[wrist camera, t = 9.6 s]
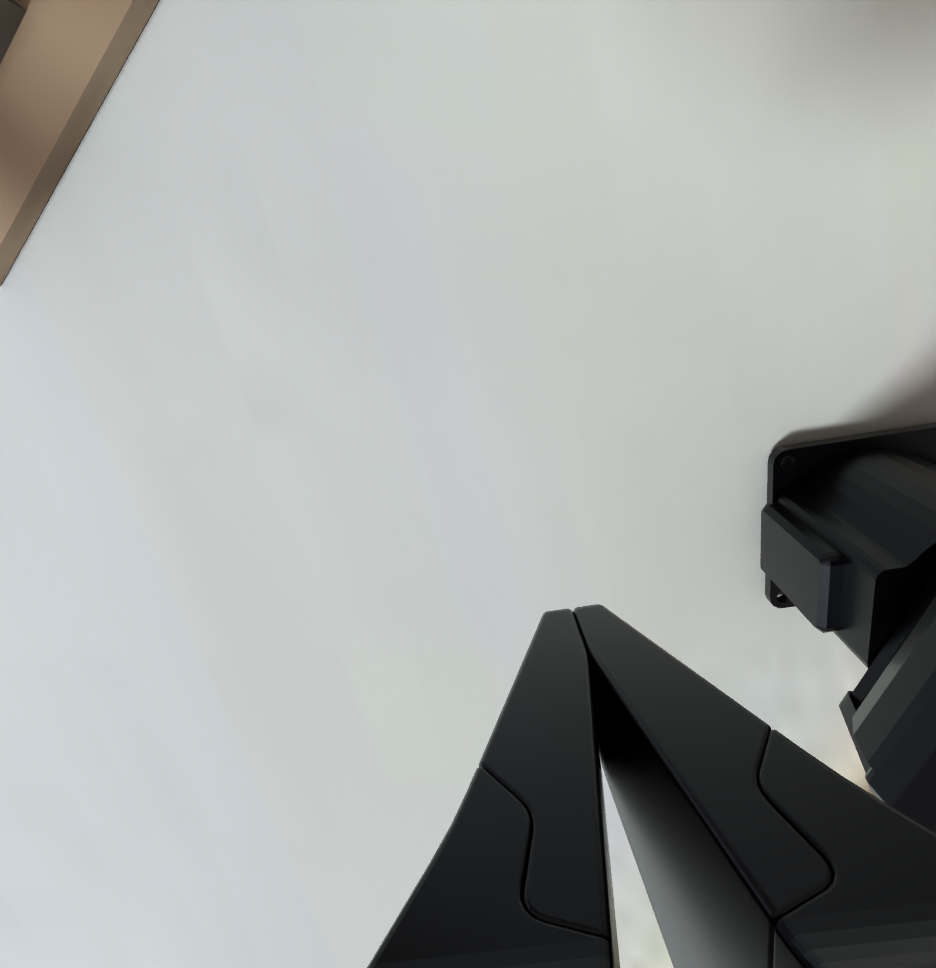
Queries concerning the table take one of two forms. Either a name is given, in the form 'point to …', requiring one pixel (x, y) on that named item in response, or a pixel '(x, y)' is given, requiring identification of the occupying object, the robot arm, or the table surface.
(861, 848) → the robot arm
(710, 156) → the table surface
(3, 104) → the button stand
